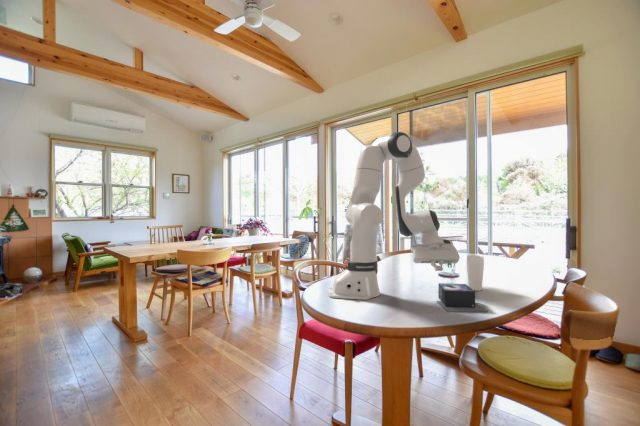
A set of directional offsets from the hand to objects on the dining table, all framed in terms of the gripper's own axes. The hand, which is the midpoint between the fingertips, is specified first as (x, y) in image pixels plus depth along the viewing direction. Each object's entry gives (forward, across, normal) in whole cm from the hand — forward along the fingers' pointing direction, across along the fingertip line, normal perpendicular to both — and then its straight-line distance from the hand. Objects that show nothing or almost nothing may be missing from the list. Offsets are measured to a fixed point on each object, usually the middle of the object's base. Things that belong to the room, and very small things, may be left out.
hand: (439, 270), depth 134 cm
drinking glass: (+6, +16, +7) cm, 19 cm away
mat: (+22, 0, -9) cm, 24 cm away
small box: (+14, 0, -6) cm, 15 cm away
